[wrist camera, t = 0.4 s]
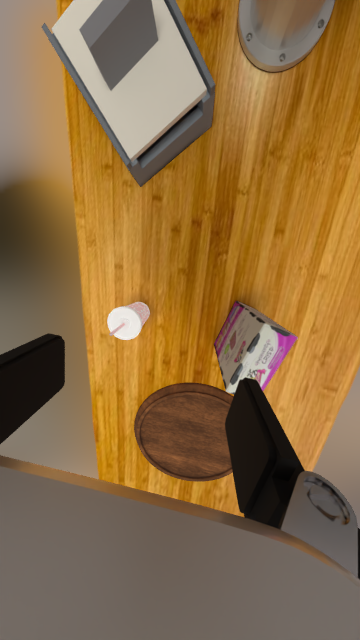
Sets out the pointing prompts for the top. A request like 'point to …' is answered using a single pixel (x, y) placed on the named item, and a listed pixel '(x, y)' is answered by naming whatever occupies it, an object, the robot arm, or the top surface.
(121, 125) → the cover plate
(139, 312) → the beverage cup
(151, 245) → the top surface
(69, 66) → the slate box
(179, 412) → the cutting board
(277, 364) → the candy bar box
